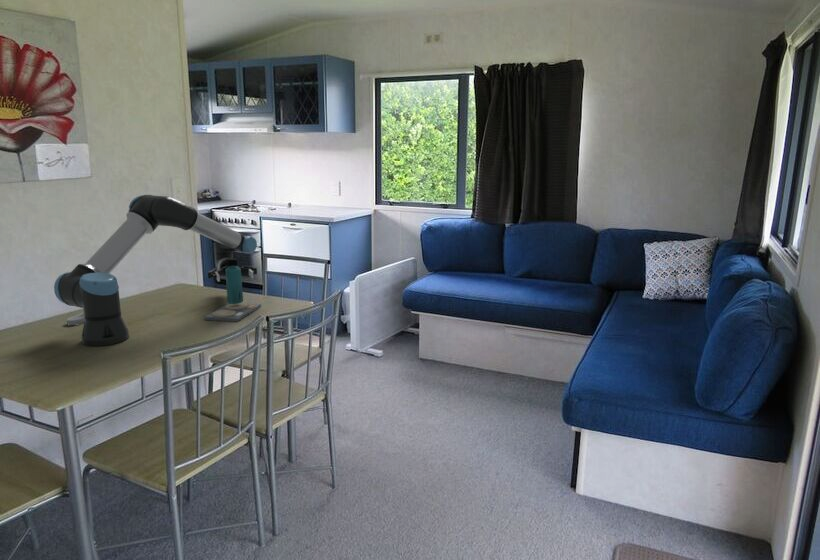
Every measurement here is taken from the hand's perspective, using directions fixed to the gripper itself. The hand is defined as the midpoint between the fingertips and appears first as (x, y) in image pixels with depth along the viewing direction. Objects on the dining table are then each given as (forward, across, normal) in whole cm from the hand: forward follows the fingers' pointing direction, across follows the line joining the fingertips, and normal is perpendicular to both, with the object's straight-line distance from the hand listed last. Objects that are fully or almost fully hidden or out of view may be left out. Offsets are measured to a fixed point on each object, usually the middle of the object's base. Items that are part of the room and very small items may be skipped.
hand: (235, 276), depth 246 cm
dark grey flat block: (+4, +2, -14) cm, 15 cm away
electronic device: (-11, +57, -15) cm, 60 cm away
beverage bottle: (-1, +1, -13) cm, 13 cm away
